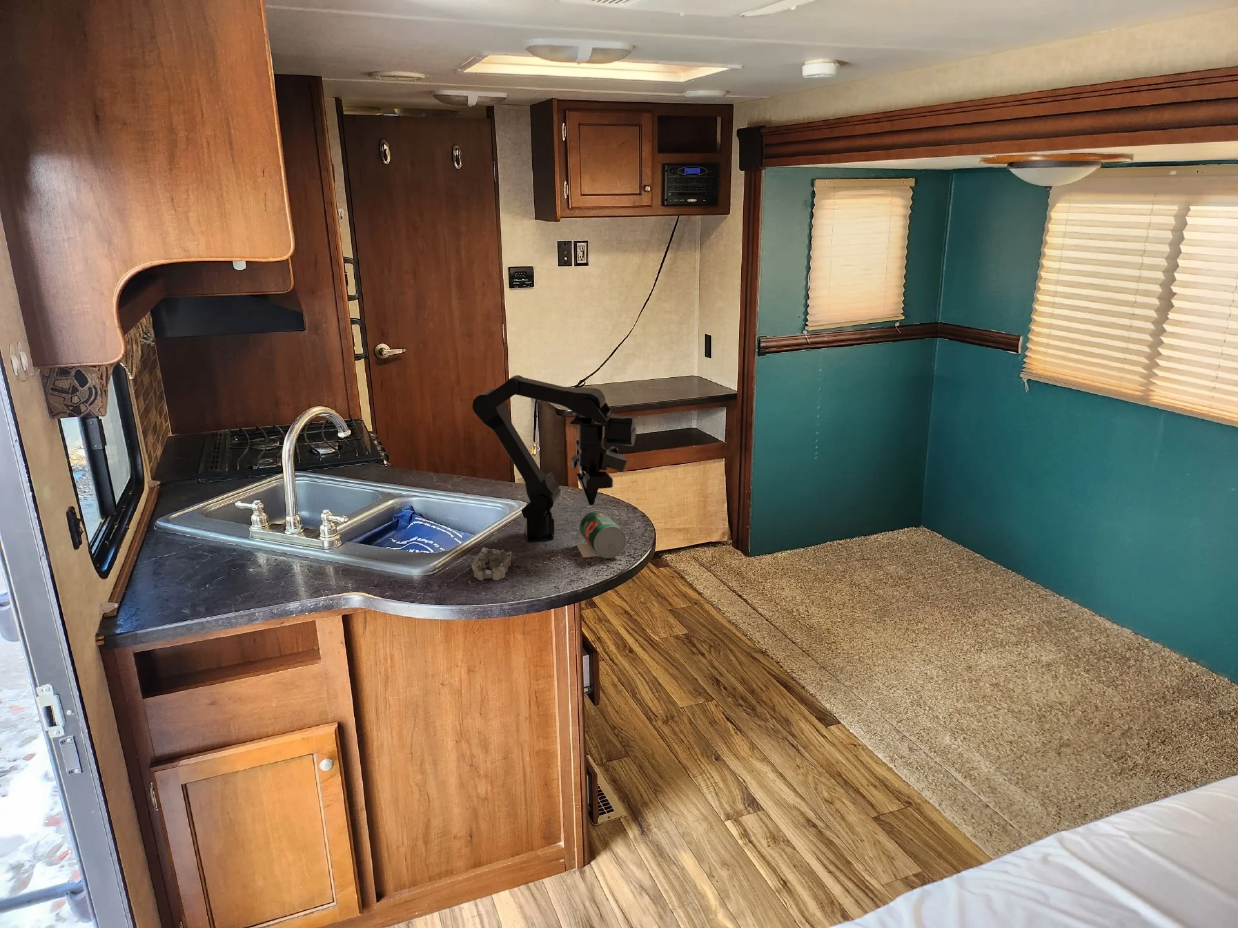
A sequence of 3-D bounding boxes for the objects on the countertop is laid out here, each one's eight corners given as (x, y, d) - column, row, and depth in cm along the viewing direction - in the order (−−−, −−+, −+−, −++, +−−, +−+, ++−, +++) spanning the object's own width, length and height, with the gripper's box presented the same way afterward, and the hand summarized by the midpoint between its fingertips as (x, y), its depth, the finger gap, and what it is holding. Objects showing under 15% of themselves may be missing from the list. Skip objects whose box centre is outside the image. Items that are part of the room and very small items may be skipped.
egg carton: (502, 583, 182) (502, 566, 180) (469, 580, 183) (468, 563, 181) (515, 562, 192) (514, 546, 190) (483, 560, 193) (482, 544, 191)
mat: (583, 557, 194) (583, 555, 194) (577, 545, 200) (577, 544, 200) (616, 554, 196) (616, 552, 196) (609, 542, 202) (609, 541, 202)
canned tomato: (575, 517, 199) (590, 534, 189) (605, 505, 201) (621, 521, 191) (584, 545, 202) (599, 563, 192) (613, 533, 204) (629, 550, 194)
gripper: (634, 451, 189) (633, 515, 194) (614, 430, 206) (614, 489, 211) (586, 455, 186) (587, 519, 191) (570, 432, 203) (570, 492, 208)
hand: (591, 504), depth 200 cm, fingers closed
